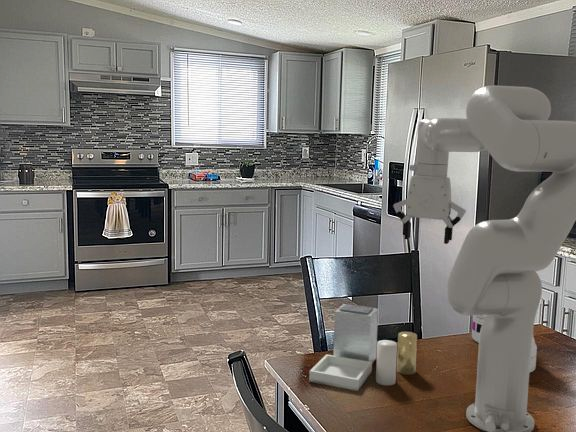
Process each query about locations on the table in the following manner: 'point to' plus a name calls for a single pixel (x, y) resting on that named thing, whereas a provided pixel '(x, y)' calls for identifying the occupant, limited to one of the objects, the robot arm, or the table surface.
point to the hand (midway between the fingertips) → (426, 240)
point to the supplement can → (477, 326)
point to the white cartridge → (386, 362)
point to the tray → (340, 372)
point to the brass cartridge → (406, 353)
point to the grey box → (355, 332)
